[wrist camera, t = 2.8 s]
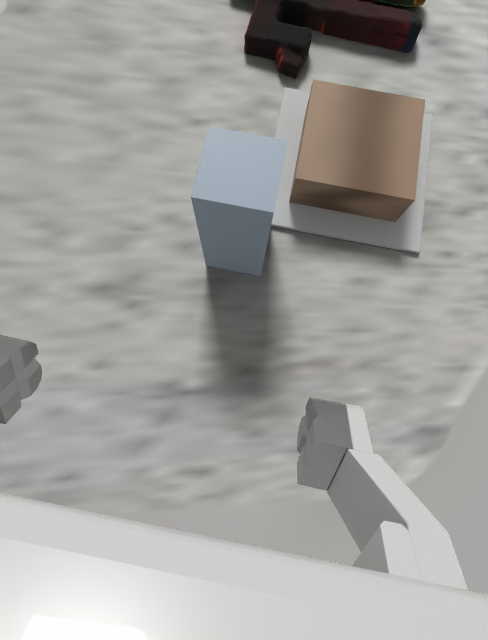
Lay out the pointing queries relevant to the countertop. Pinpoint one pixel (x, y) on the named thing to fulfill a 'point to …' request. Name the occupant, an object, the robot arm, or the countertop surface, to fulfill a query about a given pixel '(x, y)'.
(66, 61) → the countertop surface
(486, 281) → the countertop surface
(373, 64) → the countertop surface
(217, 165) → the post
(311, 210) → the mat
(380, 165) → the base block
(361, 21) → the toy
